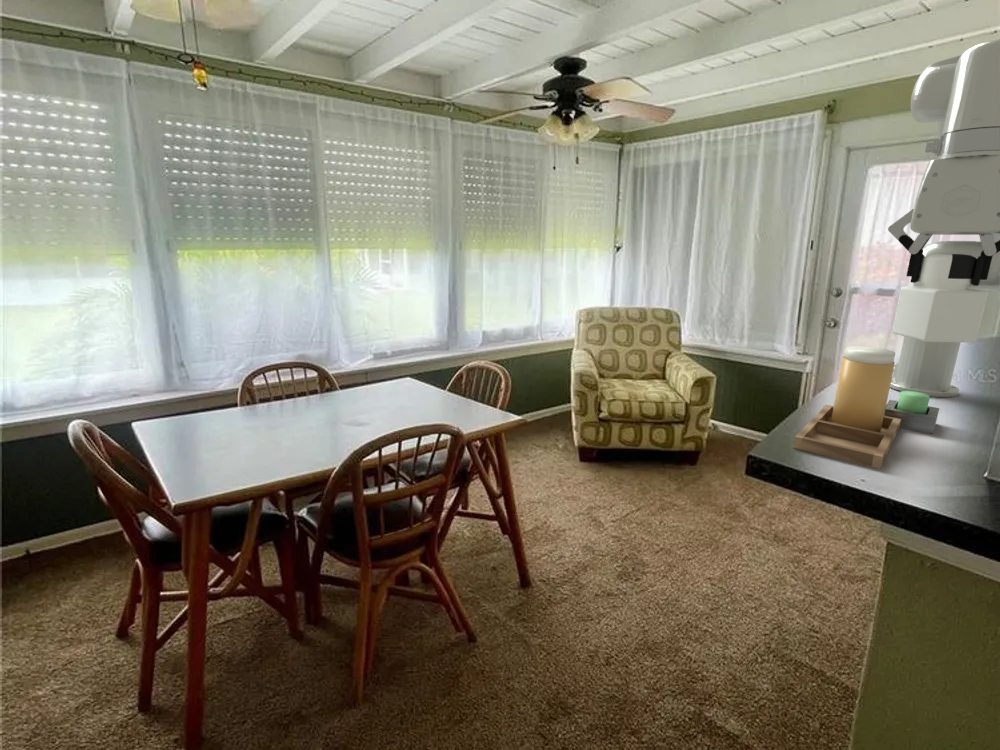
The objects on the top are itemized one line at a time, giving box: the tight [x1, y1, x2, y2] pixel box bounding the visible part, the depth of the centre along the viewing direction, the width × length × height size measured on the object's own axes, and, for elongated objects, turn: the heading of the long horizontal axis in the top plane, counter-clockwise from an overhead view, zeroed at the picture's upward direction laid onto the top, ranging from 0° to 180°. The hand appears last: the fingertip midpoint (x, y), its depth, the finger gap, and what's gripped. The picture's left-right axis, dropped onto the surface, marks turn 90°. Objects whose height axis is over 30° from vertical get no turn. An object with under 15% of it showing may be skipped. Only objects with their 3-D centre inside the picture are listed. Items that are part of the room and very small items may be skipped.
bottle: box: [831, 345, 896, 432], centre depth 86 cm, size 7×7×14 cm
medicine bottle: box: [891, 254, 989, 344], centre depth 75 cm, size 7×7×12 cm
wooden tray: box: [792, 404, 901, 470], centre depth 84 cm, size 21×11×3 cm, turn 138°
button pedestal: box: [884, 399, 940, 435], centre depth 90 cm, size 7×7×4 cm
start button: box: [897, 391, 931, 414], centre depth 90 cm, size 4×4×4 cm
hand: (944, 282), depth 74 cm, fingers closed on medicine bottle, 6 cm apart
